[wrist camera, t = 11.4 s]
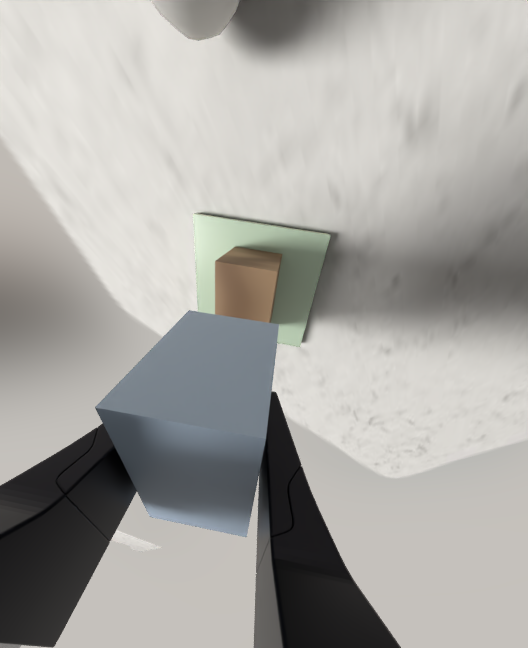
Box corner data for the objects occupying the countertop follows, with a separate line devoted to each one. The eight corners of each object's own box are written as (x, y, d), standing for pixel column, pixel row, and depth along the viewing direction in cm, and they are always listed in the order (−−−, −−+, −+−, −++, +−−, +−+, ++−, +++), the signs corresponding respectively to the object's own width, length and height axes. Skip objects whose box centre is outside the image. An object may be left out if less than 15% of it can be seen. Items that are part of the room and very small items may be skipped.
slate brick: (279, 324, 9) (265, 438, 5) (262, 422, 12) (246, 537, 8) (189, 310, 9) (95, 407, 5) (198, 410, 13) (150, 517, 8)
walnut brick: (282, 254, 17) (277, 271, 13) (270, 324, 21) (263, 357, 16) (235, 246, 17) (214, 261, 13) (231, 318, 21) (215, 347, 17)
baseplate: (329, 233, 16) (330, 235, 16) (299, 342, 22) (299, 347, 22) (197, 213, 17) (192, 213, 16) (201, 324, 23) (198, 328, 22)
